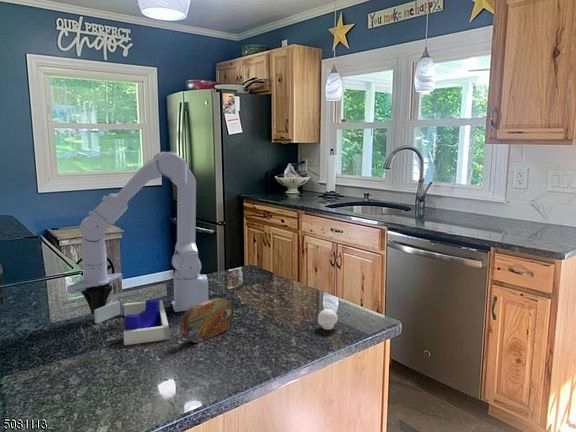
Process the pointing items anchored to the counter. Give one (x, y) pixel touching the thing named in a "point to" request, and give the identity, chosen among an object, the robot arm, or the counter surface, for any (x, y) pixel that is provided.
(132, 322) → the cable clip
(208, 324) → the tin
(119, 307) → the gate
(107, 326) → the counter surface
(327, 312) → the mushroom
